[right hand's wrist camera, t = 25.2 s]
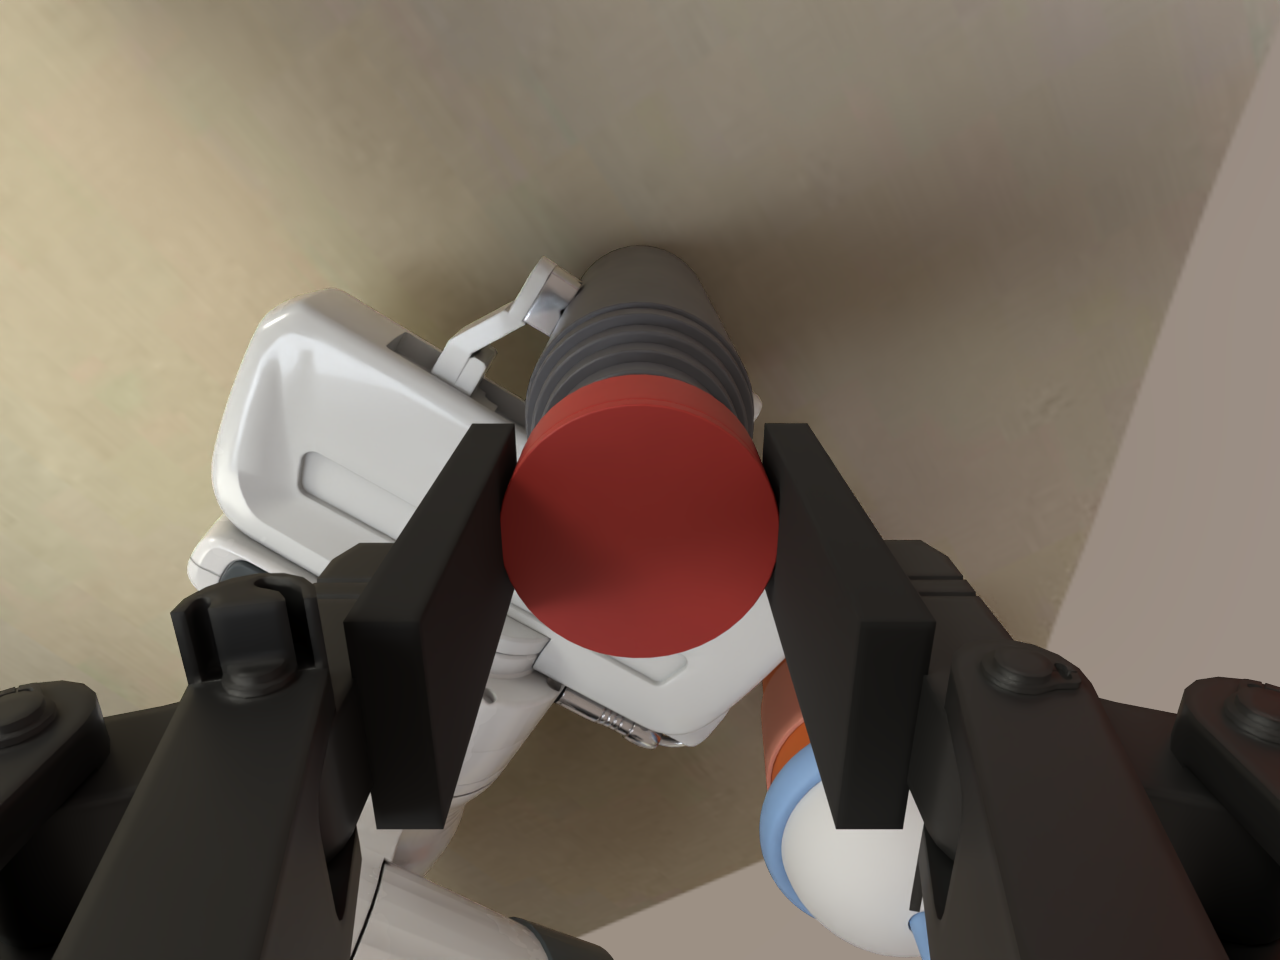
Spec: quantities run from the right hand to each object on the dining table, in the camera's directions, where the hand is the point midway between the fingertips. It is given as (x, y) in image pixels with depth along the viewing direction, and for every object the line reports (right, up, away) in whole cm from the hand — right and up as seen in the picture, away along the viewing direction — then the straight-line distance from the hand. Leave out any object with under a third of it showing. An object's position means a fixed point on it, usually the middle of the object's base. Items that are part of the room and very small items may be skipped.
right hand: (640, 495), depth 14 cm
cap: (0, -1, -1) cm, 2 cm away
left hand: (0, +5, +10) cm, 12 cm away
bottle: (0, +7, +17) cm, 18 cm away
